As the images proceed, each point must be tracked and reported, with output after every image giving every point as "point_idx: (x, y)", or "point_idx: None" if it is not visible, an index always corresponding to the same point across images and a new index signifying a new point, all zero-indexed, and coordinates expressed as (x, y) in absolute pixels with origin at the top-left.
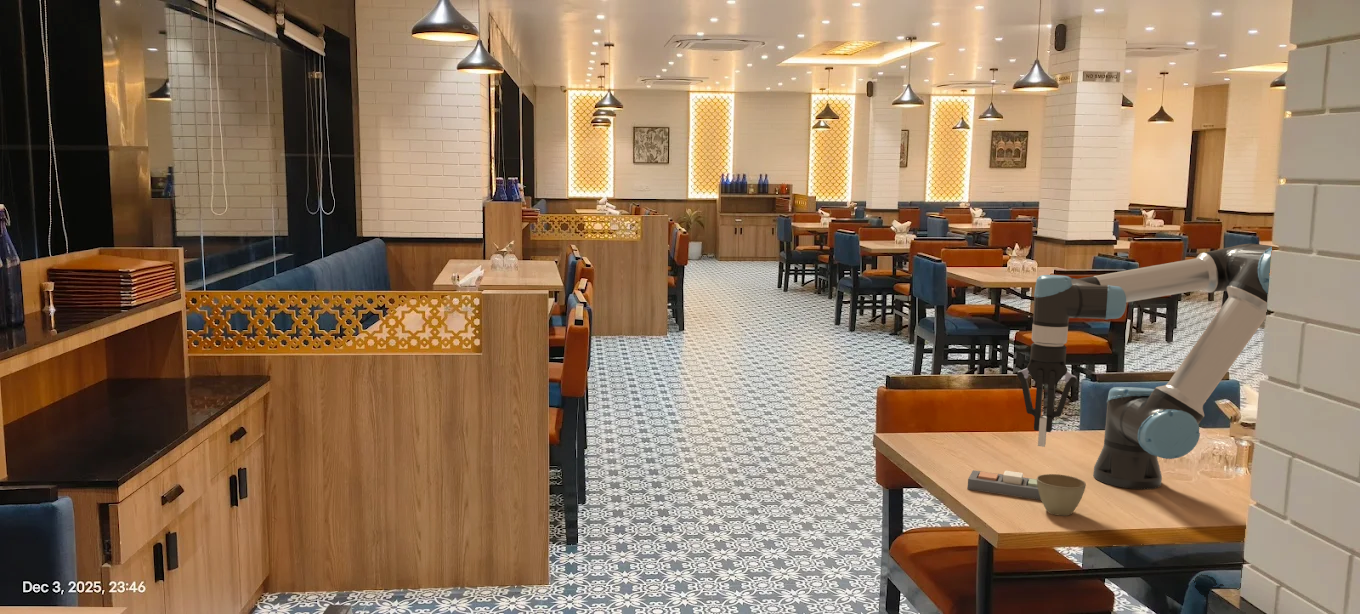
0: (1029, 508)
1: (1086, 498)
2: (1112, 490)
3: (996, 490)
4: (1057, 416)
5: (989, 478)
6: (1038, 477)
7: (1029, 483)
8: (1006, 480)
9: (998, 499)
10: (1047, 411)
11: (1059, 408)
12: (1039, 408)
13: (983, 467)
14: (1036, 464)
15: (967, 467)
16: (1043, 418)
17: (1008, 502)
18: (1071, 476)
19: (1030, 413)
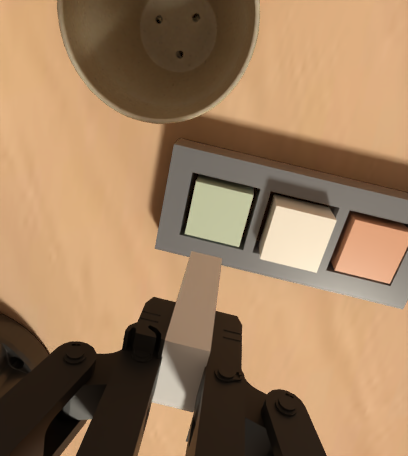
0: (271, 41)
1: (85, 202)
2: (17, 287)
3: (351, 180)
4: (85, 345)
5: (375, 224)
6: (246, 57)
7: (248, 194)
8: (321, 210)
9: (357, 114)
10: (150, 384)
11: (45, 391)
12: (209, 415)
13: (326, 400)
14: (182, 441)
15: (372, 393)
16: (185, 348)
17: (330, 90)
18: (108, 104)
19: (274, 390)
